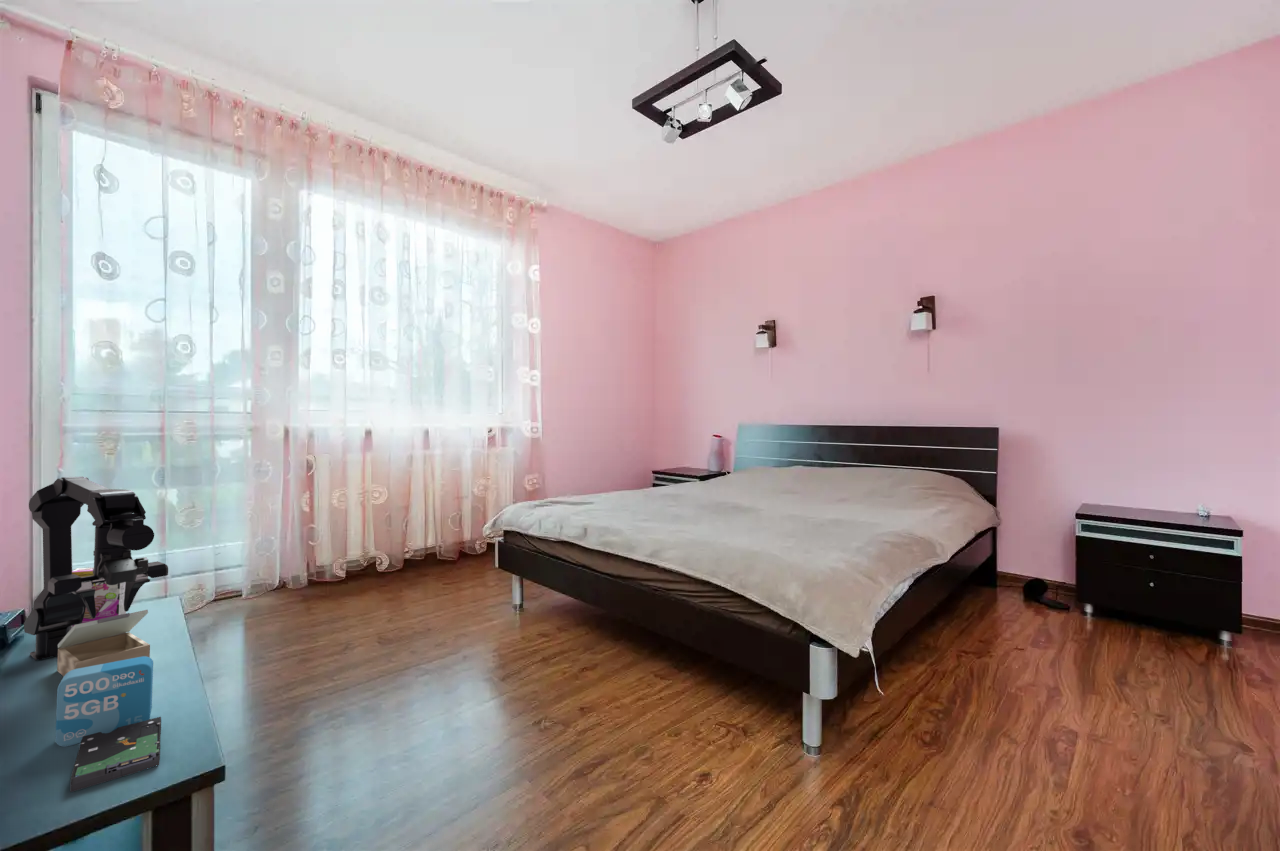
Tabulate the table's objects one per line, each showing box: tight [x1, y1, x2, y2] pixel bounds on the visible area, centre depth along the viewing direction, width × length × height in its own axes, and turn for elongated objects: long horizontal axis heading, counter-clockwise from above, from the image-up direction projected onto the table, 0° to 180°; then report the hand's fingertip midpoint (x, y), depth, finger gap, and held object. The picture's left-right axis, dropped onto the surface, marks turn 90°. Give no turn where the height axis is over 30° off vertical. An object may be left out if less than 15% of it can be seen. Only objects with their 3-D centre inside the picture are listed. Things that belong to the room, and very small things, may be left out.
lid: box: [58, 609, 149, 648], centre depth 122 cm, size 16×12×1 cm
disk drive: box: [69, 716, 162, 793], centre depth 89 cm, size 10×3×15 cm
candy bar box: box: [71, 566, 127, 629], centre depth 146 cm, size 11×5×16 cm, turn 115°
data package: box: [55, 656, 154, 747], centre depth 96 cm, size 12×4×12 cm, turn 130°
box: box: [56, 631, 151, 677], centre depth 121 cm, size 14×12×5 cm
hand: (110, 614), depth 120 cm, fingers open, 5 cm apart
